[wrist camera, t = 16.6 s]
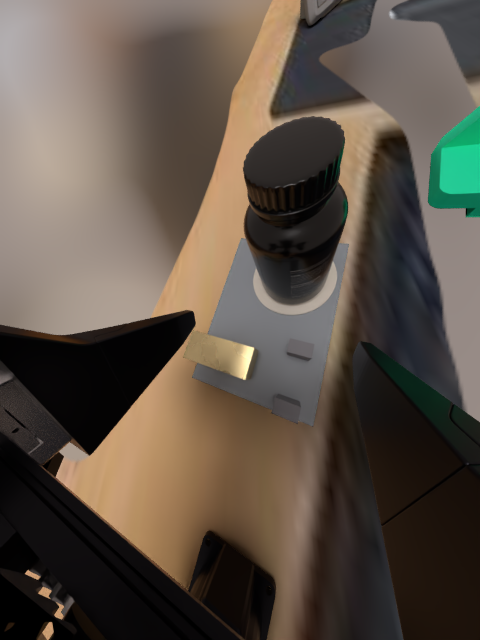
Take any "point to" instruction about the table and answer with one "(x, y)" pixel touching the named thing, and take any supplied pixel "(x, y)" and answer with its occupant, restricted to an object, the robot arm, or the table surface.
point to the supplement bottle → (295, 206)
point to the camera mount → (457, 168)
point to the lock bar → (221, 354)
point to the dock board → (276, 339)
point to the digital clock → (316, 9)
